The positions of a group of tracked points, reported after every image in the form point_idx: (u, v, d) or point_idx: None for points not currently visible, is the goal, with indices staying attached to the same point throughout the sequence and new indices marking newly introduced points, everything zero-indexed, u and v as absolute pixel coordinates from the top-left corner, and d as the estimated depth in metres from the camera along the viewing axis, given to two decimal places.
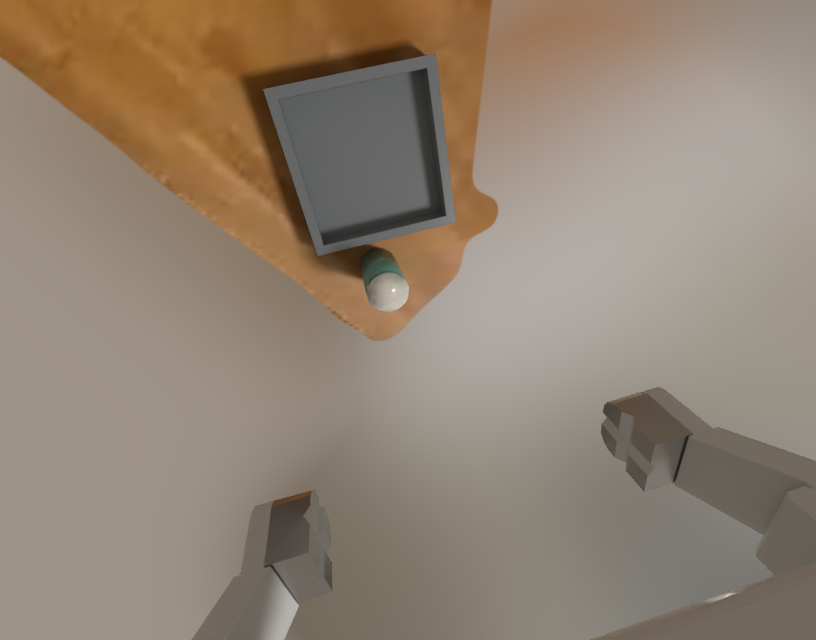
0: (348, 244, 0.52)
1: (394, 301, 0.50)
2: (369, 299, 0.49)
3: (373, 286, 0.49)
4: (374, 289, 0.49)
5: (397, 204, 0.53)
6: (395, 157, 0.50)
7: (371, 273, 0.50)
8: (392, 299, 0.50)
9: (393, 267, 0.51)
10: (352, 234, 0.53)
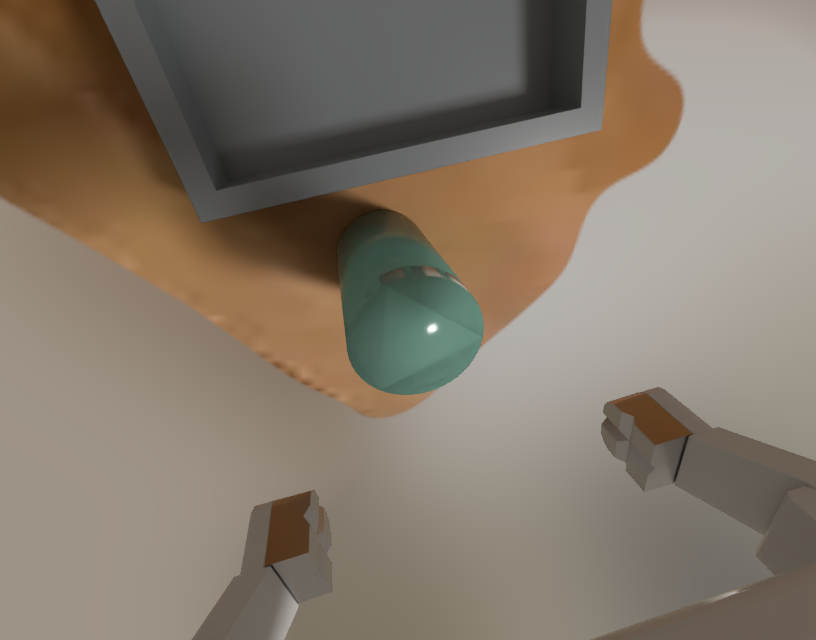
0: (294, 188, 0.17)
1: (435, 364, 0.16)
2: (355, 362, 0.15)
3: (367, 322, 0.14)
4: (370, 331, 0.14)
5: (437, 79, 0.19)
6: None
7: (362, 275, 0.15)
8: (429, 359, 0.16)
9: (431, 256, 0.16)
10: (310, 163, 0.19)
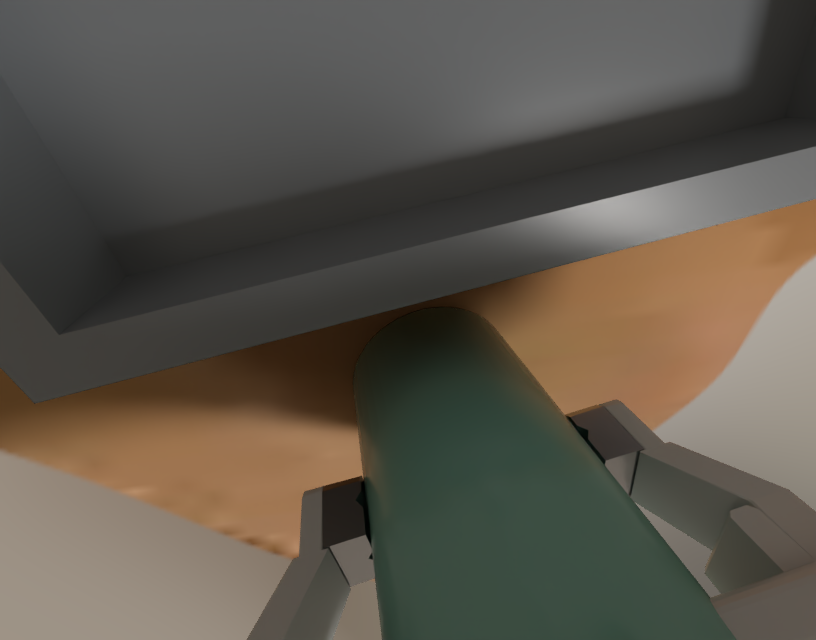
0: (261, 317, 0.07)
1: None
2: None
3: None
4: None
5: (581, 58, 0.09)
6: None
7: (453, 626, 0.05)
8: None
9: (632, 532, 0.06)
10: (302, 242, 0.09)
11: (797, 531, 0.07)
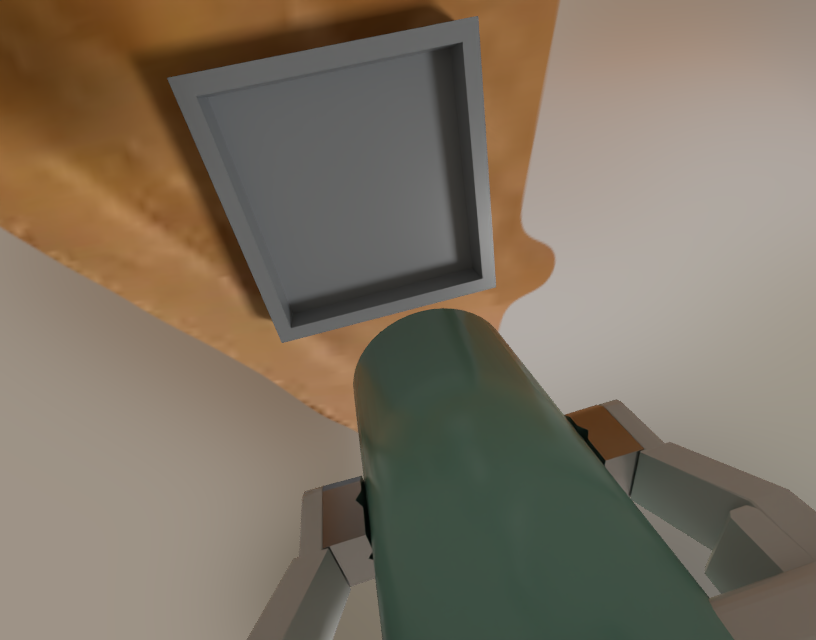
0: (330, 324, 0.33)
1: None
2: None
3: None
4: None
5: (406, 260, 0.35)
6: (404, 190, 0.32)
7: (454, 632, 0.05)
8: None
9: (633, 535, 0.06)
10: (337, 305, 0.35)
11: (797, 531, 0.06)
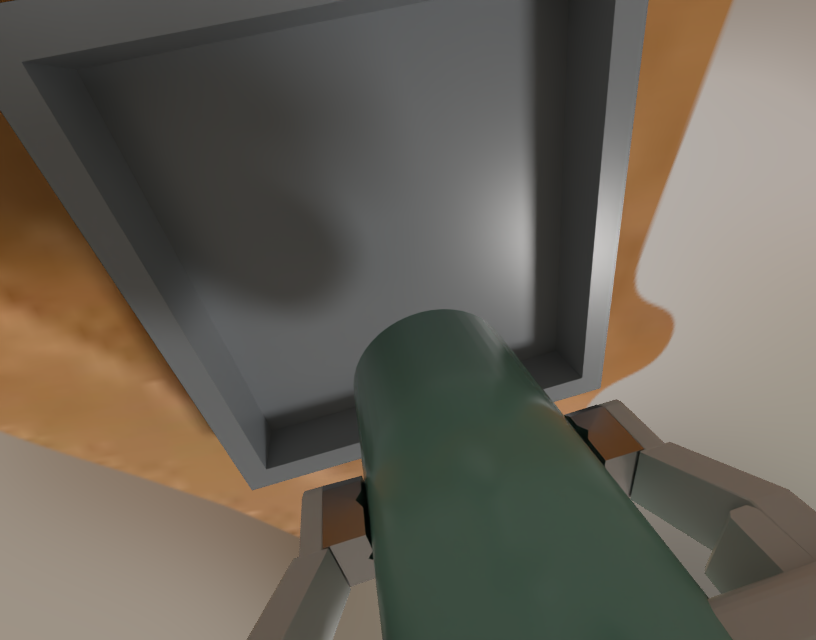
0: (332, 459, 0.20)
1: None
2: None
3: None
4: None
5: None
6: (461, 239, 0.18)
7: (455, 632, 0.05)
8: None
9: (633, 536, 0.06)
10: (344, 419, 0.21)
11: (797, 531, 0.07)
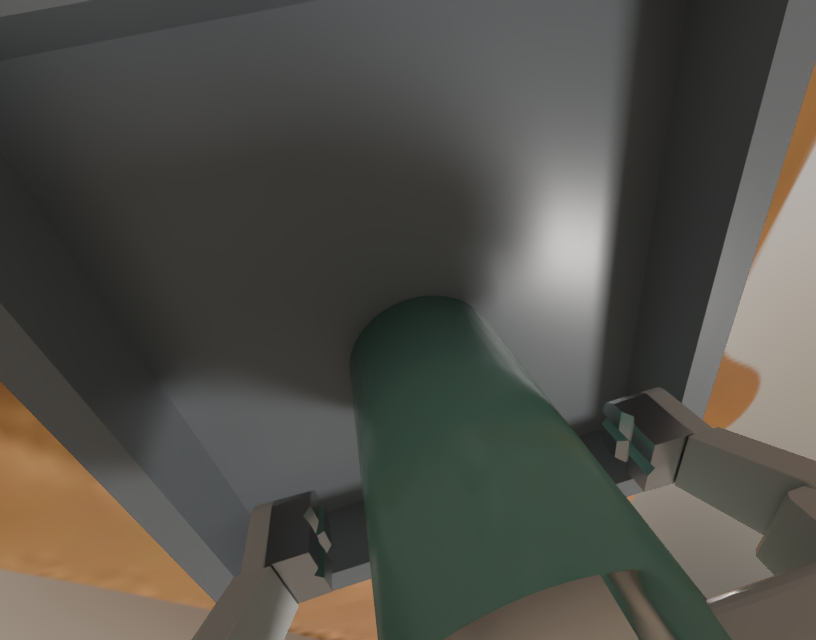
0: (340, 580, 0.15)
1: None
2: None
3: None
4: None
5: None
6: (514, 297, 0.14)
7: (431, 556, 0.06)
8: None
9: (590, 481, 0.07)
10: (355, 518, 0.17)
11: None
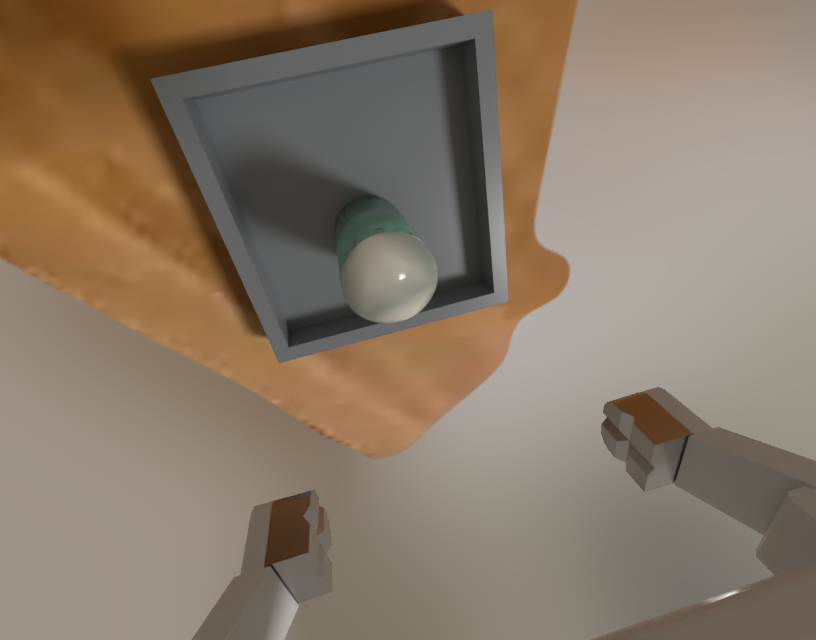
0: (331, 343, 0.31)
1: (404, 299, 0.22)
2: (346, 295, 0.21)
3: (354, 265, 0.20)
4: (357, 272, 0.21)
5: None
6: (410, 199, 0.29)
7: (352, 236, 0.22)
8: (400, 295, 0.22)
9: (401, 223, 0.22)
10: (338, 322, 0.32)
11: None
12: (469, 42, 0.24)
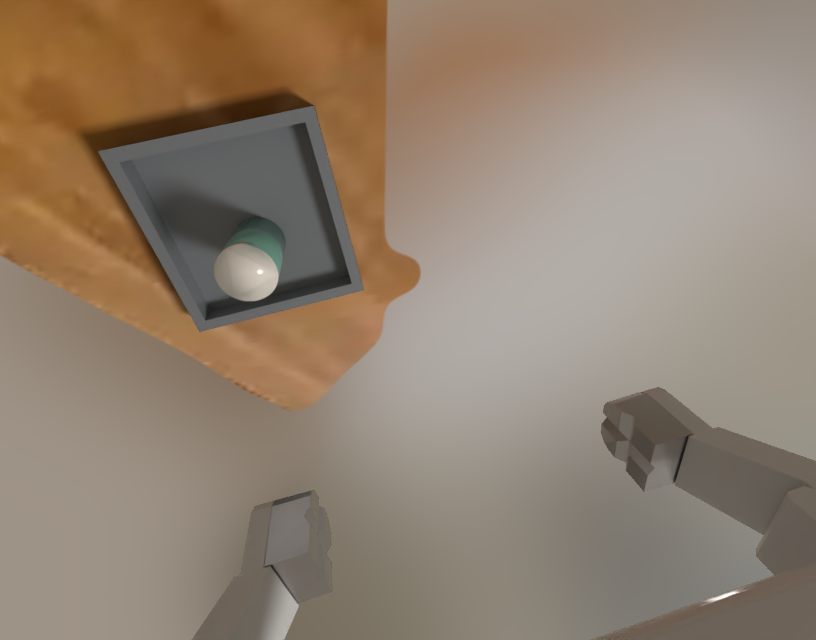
0: (235, 318, 0.45)
1: (258, 286, 0.36)
2: (219, 283, 0.35)
3: (221, 265, 0.34)
4: (224, 269, 0.34)
5: (296, 270, 0.46)
6: (286, 219, 0.43)
7: (224, 247, 0.35)
8: (255, 283, 0.36)
9: (257, 238, 0.36)
10: (244, 304, 0.46)
11: None
12: None
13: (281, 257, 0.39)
